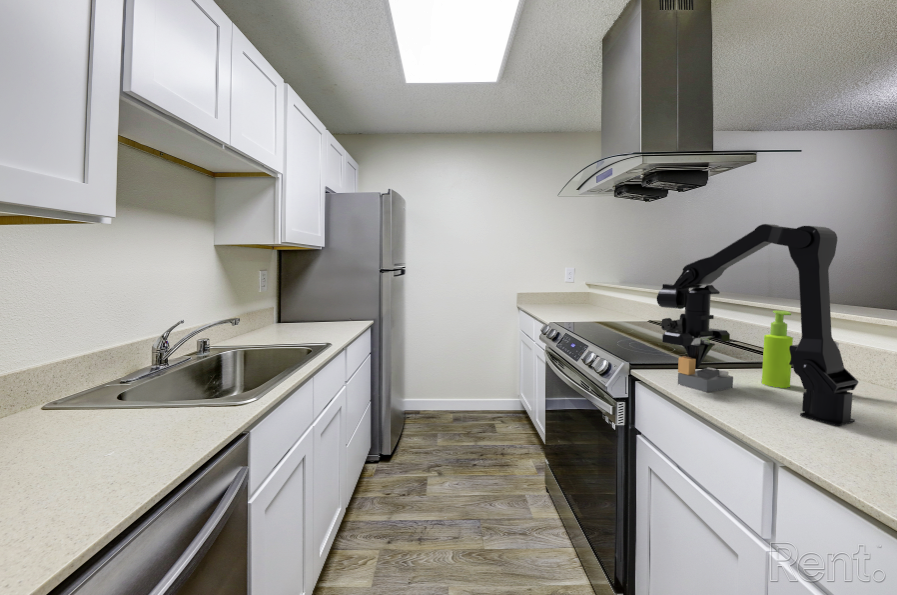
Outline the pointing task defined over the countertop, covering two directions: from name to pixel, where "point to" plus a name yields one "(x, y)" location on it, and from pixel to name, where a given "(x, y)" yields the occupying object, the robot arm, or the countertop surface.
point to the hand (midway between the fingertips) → (694, 368)
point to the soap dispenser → (777, 353)
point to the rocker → (708, 373)
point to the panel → (706, 381)
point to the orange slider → (686, 365)
